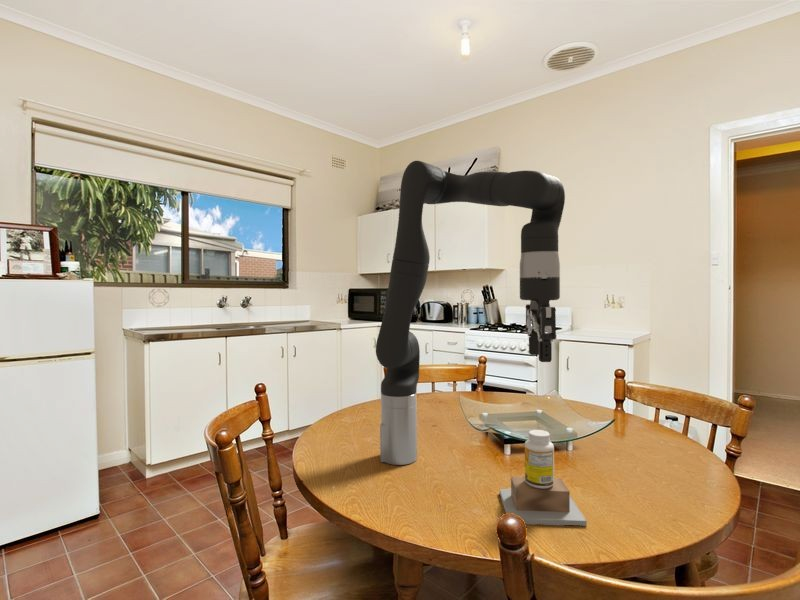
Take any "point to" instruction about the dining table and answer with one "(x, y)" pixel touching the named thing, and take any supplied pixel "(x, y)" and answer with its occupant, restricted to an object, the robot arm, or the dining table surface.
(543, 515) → the slate board
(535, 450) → the supplement bottle
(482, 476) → the dining table surface
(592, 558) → the dining table surface
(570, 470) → the dining table surface
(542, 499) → the walnut block
